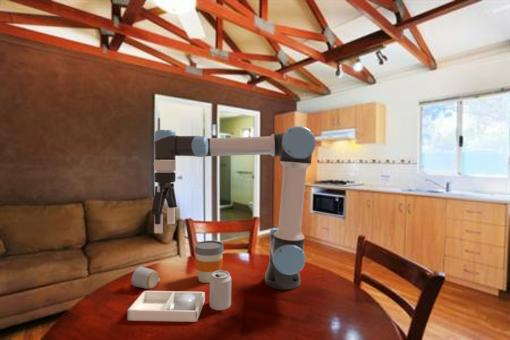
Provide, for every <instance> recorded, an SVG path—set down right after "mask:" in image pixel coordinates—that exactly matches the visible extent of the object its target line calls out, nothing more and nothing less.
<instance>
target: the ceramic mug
mask: <svg viewBox="0 0 510 340" xmlns="http://www.w3.org/2000/svg"><path fill="white" fill-rule="evenodd" d="M130 280H131V285H132V286H133V287H136V288H141V289H145V290H146V289H147V290H150V289H152V288H155V287H156V285H157V284H158V283H160V280H161V278H160V277H159V272H158V271H156V270H154V269H151V268H148V267H144V266H138V267H137V268H136V269H135V270H134V271H133V273H132V275H131V279H130Z"/></svg>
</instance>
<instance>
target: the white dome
mask: <svg viewBox="0 0 510 340" xmlns="http://www.w3.org/2000/svg"><path fill="white" fill-rule="evenodd" d="M174 310H188V311H195V296H194V295H193V294H180V295H178V296H176V297H175V298H174Z"/></svg>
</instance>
